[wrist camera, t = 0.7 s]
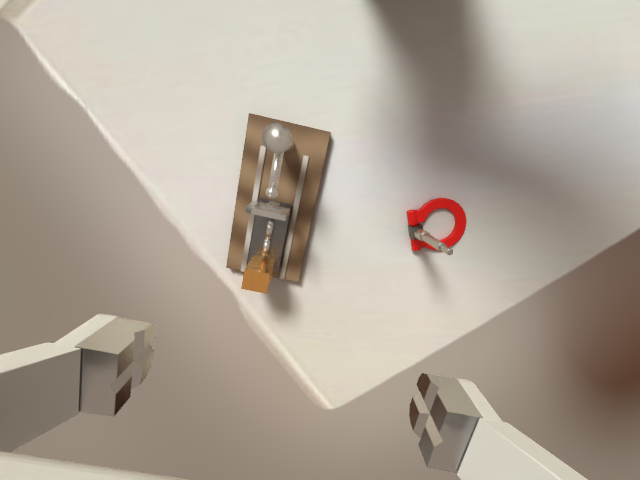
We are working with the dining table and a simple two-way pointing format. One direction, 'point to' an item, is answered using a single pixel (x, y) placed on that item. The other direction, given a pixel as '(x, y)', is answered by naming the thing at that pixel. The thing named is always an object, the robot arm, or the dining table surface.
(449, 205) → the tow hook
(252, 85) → the dining table surface
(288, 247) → the board
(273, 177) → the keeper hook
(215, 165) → the dining table surface
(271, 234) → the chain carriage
